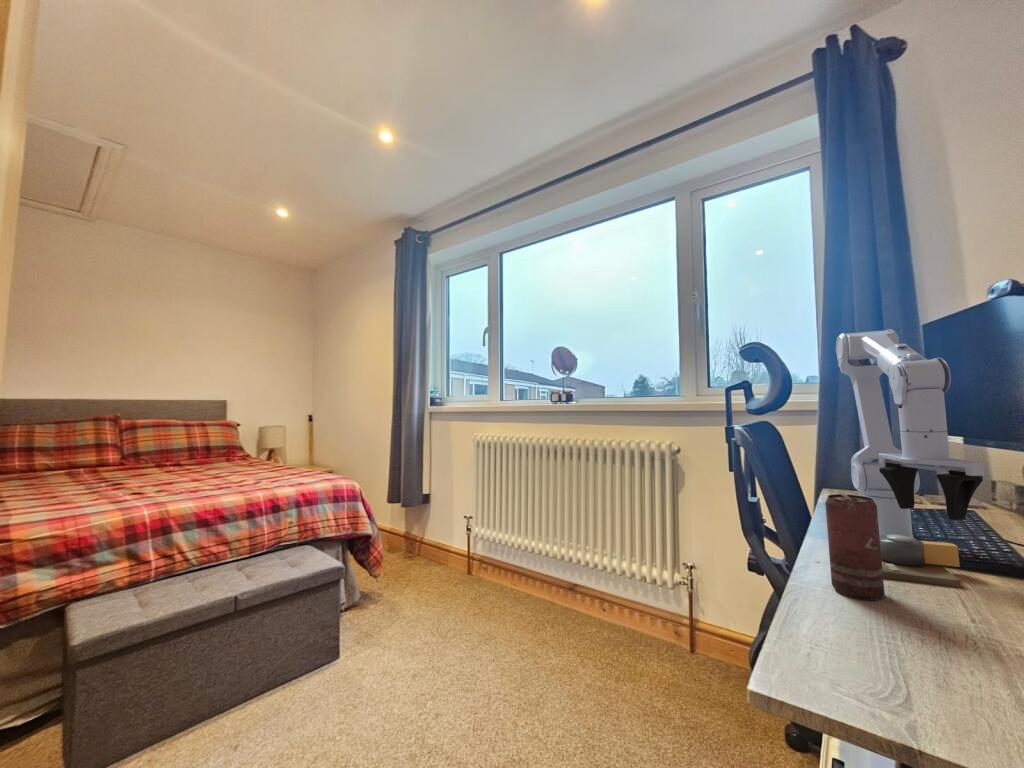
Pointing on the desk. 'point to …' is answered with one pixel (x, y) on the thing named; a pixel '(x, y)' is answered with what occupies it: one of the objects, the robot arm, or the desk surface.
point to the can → (854, 546)
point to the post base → (920, 573)
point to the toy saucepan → (917, 551)
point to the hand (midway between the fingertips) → (930, 513)
